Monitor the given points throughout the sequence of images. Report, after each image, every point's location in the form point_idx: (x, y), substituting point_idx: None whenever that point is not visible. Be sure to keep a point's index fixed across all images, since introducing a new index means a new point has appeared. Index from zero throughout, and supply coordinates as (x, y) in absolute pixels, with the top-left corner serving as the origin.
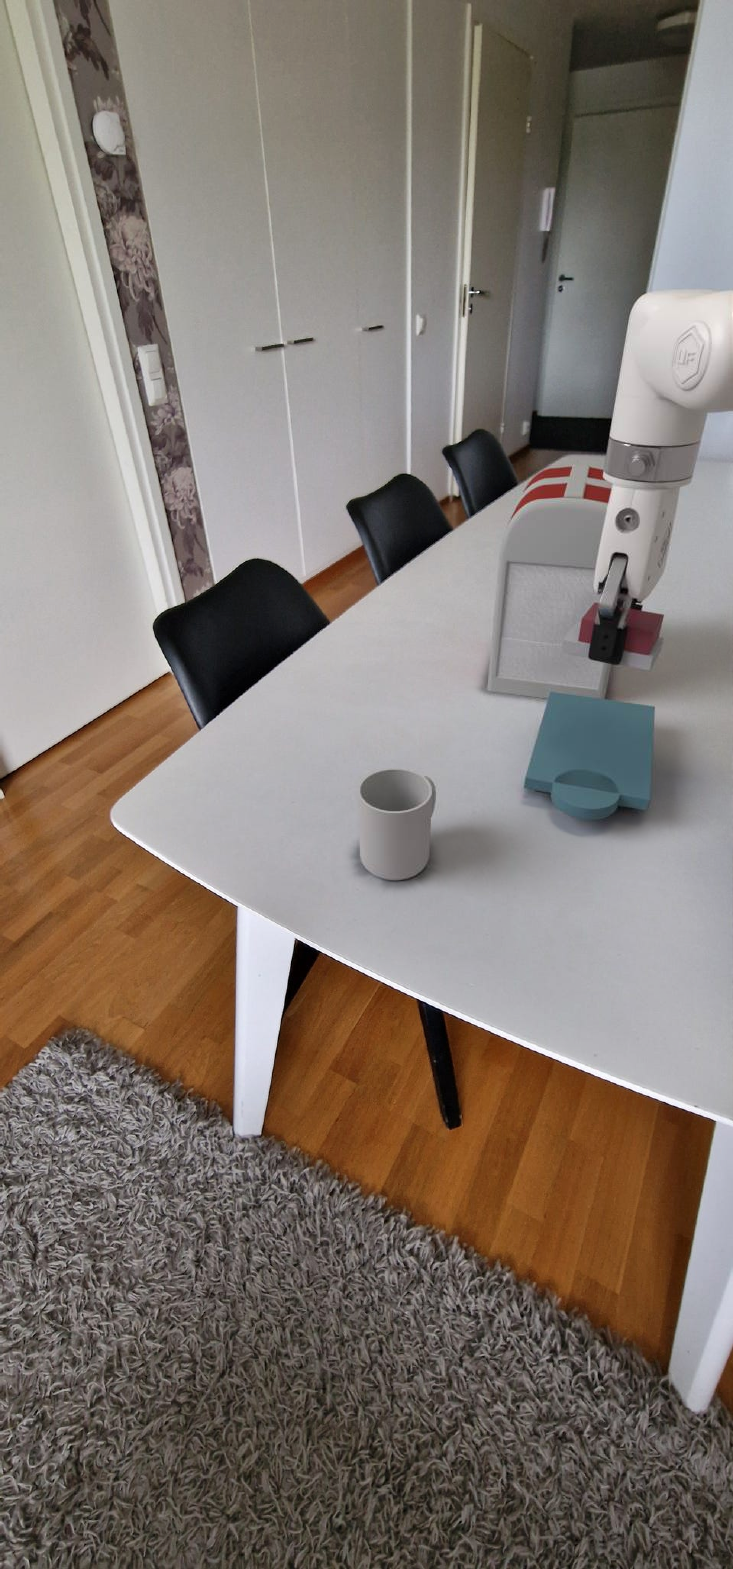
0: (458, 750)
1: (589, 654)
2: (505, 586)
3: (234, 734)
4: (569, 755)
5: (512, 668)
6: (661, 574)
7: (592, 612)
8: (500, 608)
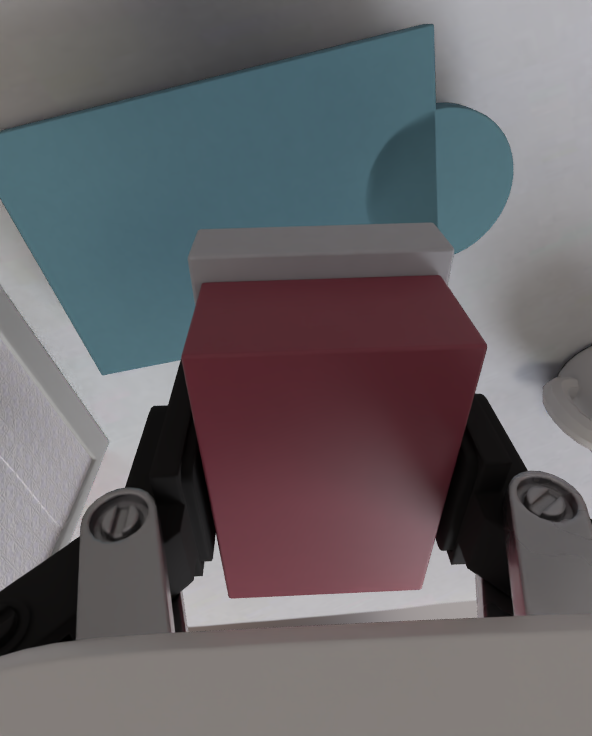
0: None
1: None
2: None
3: (404, 594)
4: None
5: (69, 455)
6: (115, 689)
7: (346, 582)
8: None
